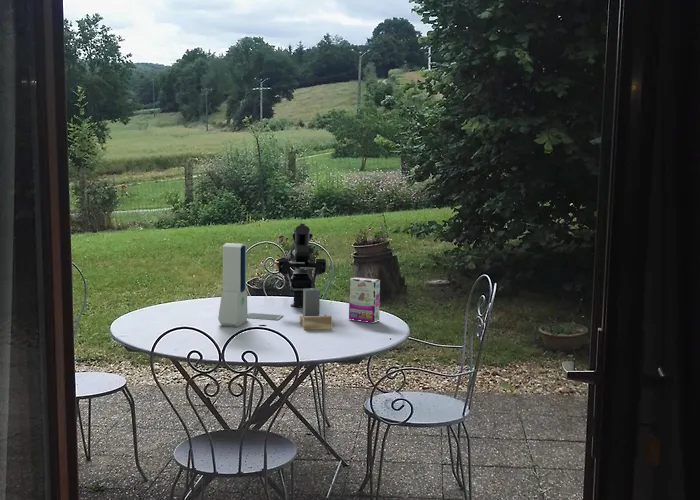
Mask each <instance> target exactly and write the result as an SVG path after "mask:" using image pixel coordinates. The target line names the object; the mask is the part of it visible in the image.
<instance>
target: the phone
mask: <svg viewBox="0 0 700 500" xmlns="http://www.w3.org/2000/svg"><path fill="white" fill-rule="evenodd" d="M283 317H284V315H282V314H269V313H255V312H248V317H247V319H253V320H255V319H256V320H267V321H269V320H270V321H279V320H280V319H281V318H283Z"/></svg>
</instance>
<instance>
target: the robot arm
mask: <svg viewBox="0 0 700 500" xmlns="http://www.w3.org/2000/svg"><path fill="white" fill-rule="evenodd" d="M310 231H311V229H310V227H309V226H307V225H305V223H299V225H297V226H296V227H295V229H293V231H292V237H291V239H292V241H293V243H292V245H290V249H289V258H279V259H278V273H281V274H282V275H284V276H286V277H287V279H288V280H289V283H290V293H293V303H292V304H290V307H295V308H302V309H303V288H314V287H313V286H314V285H313V282H314V283H315V282H316V280H317V278H319V276H320V275H322V274H326V268H327V260H326V259H325V258H316V259H315V262H310V259H311V256H310V255H314V244H309V243H310V242H311V241H312V240H313V234H312V232H310ZM289 260H290V261H289ZM291 268H295V269H293V271H292V274H291ZM309 269H313V270H314V273H313V279H312V277H310V271H309Z"/></svg>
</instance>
